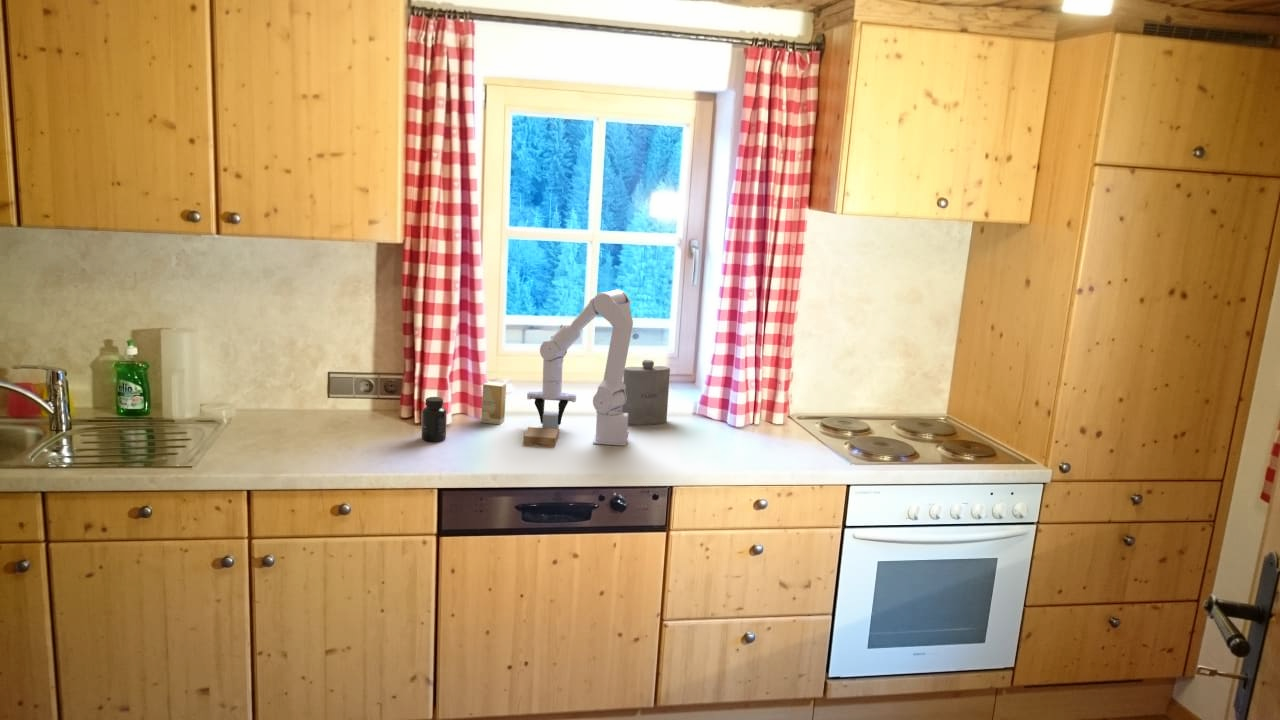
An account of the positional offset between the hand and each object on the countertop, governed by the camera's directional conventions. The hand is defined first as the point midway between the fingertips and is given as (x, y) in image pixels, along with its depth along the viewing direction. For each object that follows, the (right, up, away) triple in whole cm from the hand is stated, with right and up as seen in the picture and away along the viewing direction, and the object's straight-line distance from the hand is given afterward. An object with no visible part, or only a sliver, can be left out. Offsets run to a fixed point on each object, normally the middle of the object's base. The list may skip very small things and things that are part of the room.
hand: (550, 423), depth 283 cm
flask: (+28, -1, +12) cm, 31 cm away
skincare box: (-18, 0, +4) cm, 18 cm away
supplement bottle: (-32, -4, -16) cm, 36 cm away
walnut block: (-2, -5, -12) cm, 13 cm away
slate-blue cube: (0, -1, 0) cm, 1 cm away
